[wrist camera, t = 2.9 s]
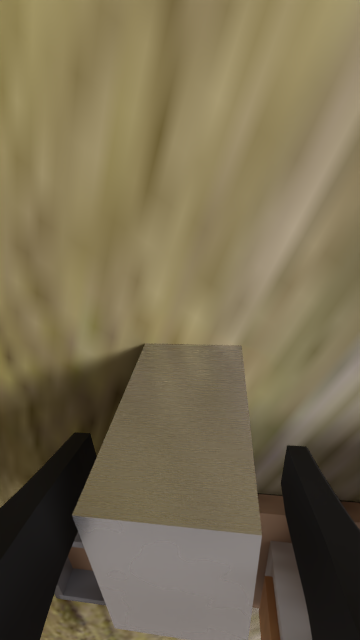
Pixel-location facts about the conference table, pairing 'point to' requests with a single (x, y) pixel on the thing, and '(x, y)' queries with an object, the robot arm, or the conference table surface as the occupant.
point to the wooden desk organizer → (271, 581)
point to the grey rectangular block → (177, 498)
